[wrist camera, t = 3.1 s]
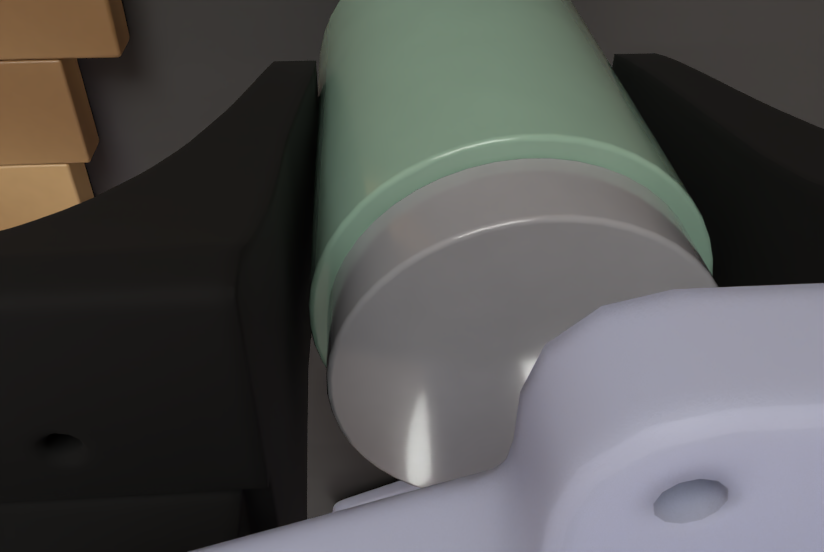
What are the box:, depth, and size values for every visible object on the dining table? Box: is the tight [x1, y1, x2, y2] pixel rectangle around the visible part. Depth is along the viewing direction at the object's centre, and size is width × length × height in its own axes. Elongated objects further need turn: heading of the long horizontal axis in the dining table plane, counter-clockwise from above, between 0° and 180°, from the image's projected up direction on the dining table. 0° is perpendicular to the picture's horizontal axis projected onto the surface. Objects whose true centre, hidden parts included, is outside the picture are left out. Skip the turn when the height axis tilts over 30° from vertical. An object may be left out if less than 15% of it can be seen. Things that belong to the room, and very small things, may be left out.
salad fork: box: [0, 0, 130, 231], centre depth 15 cm, size 18×5×1 cm, turn 179°
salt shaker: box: [309, 0, 719, 488], centre depth 11 cm, size 4×4×7 cm
